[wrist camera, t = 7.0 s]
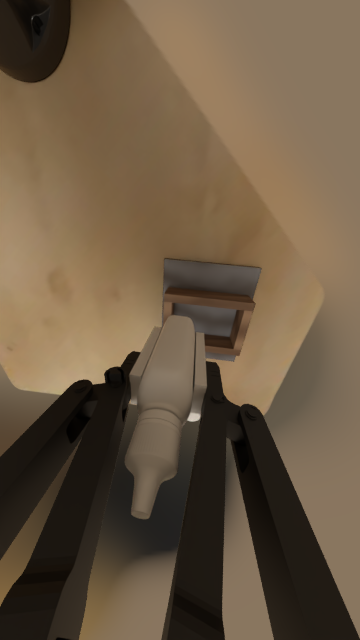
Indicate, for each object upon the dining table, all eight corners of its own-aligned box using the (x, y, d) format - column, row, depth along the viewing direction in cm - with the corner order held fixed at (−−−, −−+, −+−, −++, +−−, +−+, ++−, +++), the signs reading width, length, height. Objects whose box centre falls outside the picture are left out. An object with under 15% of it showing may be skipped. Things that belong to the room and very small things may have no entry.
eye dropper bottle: (146, 345, 17) (62, 512, 7) (175, 305, 15) (119, 463, 4) (180, 366, 18) (152, 545, 7) (212, 331, 16) (241, 518, 5)
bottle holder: (165, 258, 32) (159, 262, 27) (259, 267, 31) (271, 273, 26) (161, 349, 42) (157, 364, 37) (233, 358, 41) (238, 375, 36)
